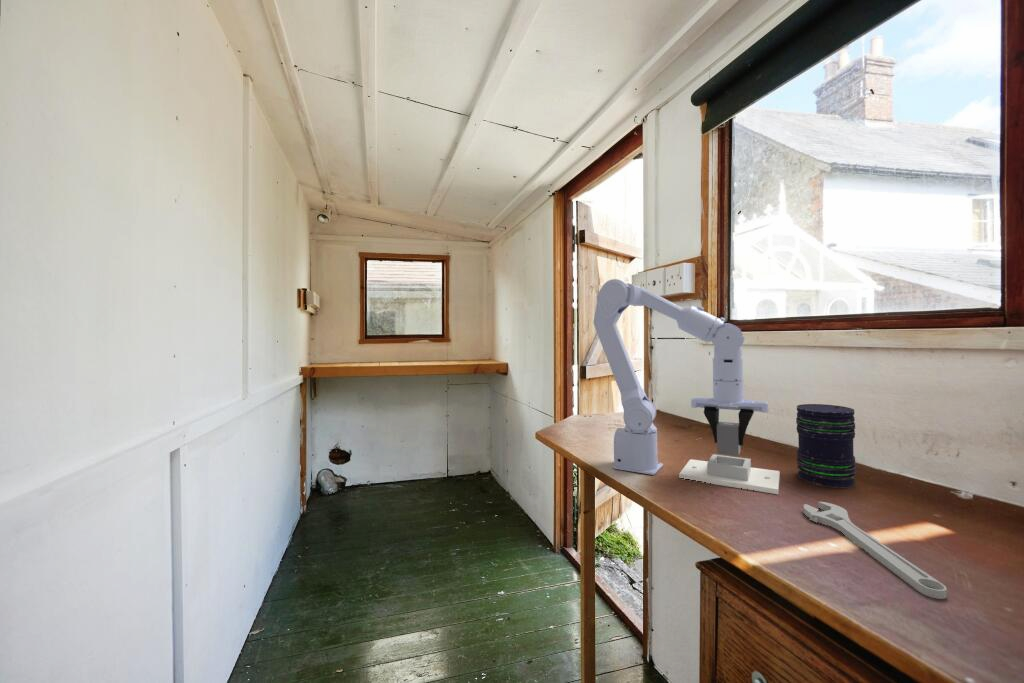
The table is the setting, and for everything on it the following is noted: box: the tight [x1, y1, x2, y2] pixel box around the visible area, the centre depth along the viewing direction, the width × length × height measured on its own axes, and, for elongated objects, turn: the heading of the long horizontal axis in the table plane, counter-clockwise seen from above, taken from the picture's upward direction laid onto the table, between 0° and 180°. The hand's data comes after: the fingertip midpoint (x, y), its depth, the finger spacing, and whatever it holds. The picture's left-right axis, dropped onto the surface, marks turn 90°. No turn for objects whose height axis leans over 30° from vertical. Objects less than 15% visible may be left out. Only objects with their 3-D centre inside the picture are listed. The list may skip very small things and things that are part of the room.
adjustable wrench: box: [803, 501, 948, 600], centre depth 62 cm, size 25×6×2 cm, turn 168°
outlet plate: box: [678, 453, 781, 495], centre depth 90 cm, size 18×12×4 cm, turn 56°
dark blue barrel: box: [795, 403, 857, 489], centre depth 88 cm, size 10×10×15 cm
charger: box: [716, 421, 742, 457], centre depth 90 cm, size 4×4×6 cm
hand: (729, 443), depth 90 cm, fingers closed on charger, 4 cm apart
